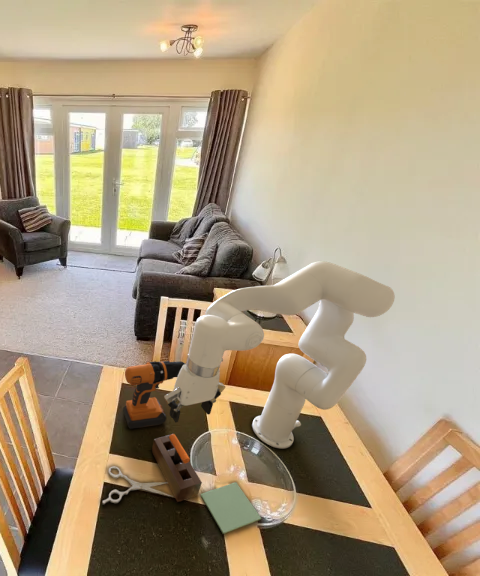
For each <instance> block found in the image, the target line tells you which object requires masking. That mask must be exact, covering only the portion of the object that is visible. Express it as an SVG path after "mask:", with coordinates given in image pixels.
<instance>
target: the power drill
mask: <svg viewBox="0 0 480 576" xmlns="http://www.w3.org/2000/svg"><path fill="white" fill-rule="evenodd" d="M184 364H186V362H184V361H170V360H165V361H156V360H155V361H154V360H153V361H147V362H145V364H139V365H129V366H127V367H126V368H125V370H124V378H125V380H126V383H127V384H129V385H130V386H132V387H135V386H136V387H135V388H134V391H133V394H132V399H129V400H126V401H125V406H123V409H122V413H123V415H124V419H125V421H126V424H127V427H128V428H129V429H138V428H146V427H147V428H148V427H154V426H160V425H163V423H165V422H166V421H167V415H166V414H165V411H164V409H163V406H162V404H161V402H160V401H159V399H158V398H157V397H155V396H154V397H151V393H152V392H155V391H157V390H158V389H159V388H160V387H159V385H160V384H164V382H165V381H170V380H173V379H174V378H177V377H178V374H179V372H180V370H181V368H182V366H183V365H184Z"/></svg>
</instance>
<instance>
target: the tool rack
mask: <svg viewBox="0 0 480 576" xmlns="http://www.w3.org/2000/svg"><path fill="white" fill-rule="evenodd" d="M172 434H173V433H172ZM172 434H168V435H165V436H161V437H156V438H154V439H153V442H152V446H151V447H152V448H151V453H152V455H153V457H154V459H155V461H156V463H157V465H158V467H159V469H160V471H161V473H162V475H163V477H164V479H165V482H168V483H167V485H168V487H169V489H170V491H171V492H172V496H174V498H175V500H176V503H180V502H182V501H186V500H188V499H191V498H195V497H197V496H199V494H200V491H201V490H200V489H201V487H202V484H203V482H202V480H201V479H200V477H199V475H198V474H197V472H196V471H195V468H194V467H193V465H192V463H191V462H190V461H189V462H188V463H183V461H182V459H181V457H180V461H179V464H176V465H175V464H174V463H173V458H174V453H175V447H174V445H173V444H172V442H171V440H170V439H169V436H170V435H172Z"/></svg>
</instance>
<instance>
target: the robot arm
mask: <svg viewBox="0 0 480 576" xmlns="http://www.w3.org/2000/svg"><path fill="white" fill-rule="evenodd" d="M395 295H396V294H395V292H394V290H393V289H392V287H390V286H388V285H386V284H383V283H381V282H379V281H377V280H375V279H373V278H371V277H369V276H367V275H364V274H362V273H360V272H357V271H354V270H352V269H348V268H346V267H344V266H341V265H339V264H336V263H333V262H330V261H325V260H320V261H319V260H318V261H314V262H311V263H310V264H308V265H306V266H304V267H302V268H301V269H299V270H297V271H296V272H294V273H292V274H291V275H289V276H287V277H285V278H284V279H282V280H280V281H279V282H277V283H275V284H270V285H256V286H248V287H241V288H238V289H235V290H232V291H230V292H228V293H227V294H224V295H223V296H221V297H219V298H218V299H217V300H215V301H214V302H212V303H211V304H210V305H209V306H208V307H207V309H206V311H205V313H204V315H201V316H199V317H198V318H197V319H196V321H195V323H194V327H193V333H192V336H191V340H190V345H189V349H188V353H187V358H186V362H185V364H184V365H183V366H182V368H181V370H180V372H179V374H178V377H176V380H175V383H174V386H173V390H172V391H169V392H168V393H167V394H165V395H164V396H163V398H164V400H165V402H166V404H167V406H168V407H169V408H170V410H169V416H170V418H171V419H172V420H173V422H174V423H178V422H179V419H180V416H181V409H182V408H183V407H184V406H191V405H197V404H200V407H201V409H202V410H203V411H204V413H206V415H207V416H208V415H211V413H212V409H213V406H214V404H215V403H216V402H217V399H218V398H219V397H220V396H221V395H222V393H223V392H224V390H225V389H226V385H225V384H224V383H223V382H220V377H221V373H220V372H221V370H220V368H221V364H222V362H224V355H225V354H224V353H225V352H226V351H239V352H240V351H241V352H242V351H243V352H244V351H250V350H253V349H255V348H257V347H258V346H260V345H261V343H262V342H263V341H264V338H265V331H264V329H263V327H262V326H261V325H260V324H259V323H258V322H257V321H255V320H254V319H252V318H251V317H249V316H247V314H245V313H244V312H245V311H260V312H265V313H271V314H275V315H282V316H296V315H298V314H300V313H301V312H303V311H304V310H307V308H309V307H311V306H313V305H314V304H316V303H318V302H319V304H318V308H317V310H316V312H315V314H314V316H313V317H312V319H311V320H310V322H309V324H308V325H307V326H306V328H305V330H304V331H303V333H302V335H301V336H300V338H299V340H298V342H297V343H298V344H297V346H298V348H299V350H300V351H301V352H302V353H303V354H304V355H306V356H307V357H308V358H310V359H311V360H313V361H314V362H316V363H317V364H319V365H320V366H321V367H323V368H325V369H326V370H327V371H328V372H326V371H325V370H323V369H322V368H320V367H319V366H317V365H316V364H314V363H313V362H312V361H311V360H308V359H307V358H306V357H304V356H302V355H300V354H297V353H292V352H291V353H286V354H284V355H282V356H281V357H280V358H279V360H278V361H277V362H276V366H275V371H274V378H273V379H274V380H273V384H272V386H271V389H270V391H269V394H268V397H267V399H266V401H265V403H264V407H263V408H262V412H261V415H257V416H255V417H254V419H253V421H252V424H251V427H252V430H253V432H254V434H255V435H256V436H257V438H258V439H259V440H260V441H262V443H264V444H266V445H269V446H271V447H273V448H276V449H288V448H290V447H291V446H292V445H293V443H294V440H295V438H294V434H293V430H295V429H296V428H299V427H301V426H302V423H301V421H300V420H298V419H299V416H300V414H301V412H302V410H303V408H304V407H305V404H306V401H308V402H309V403H310V404H311V405H313V406H314V407H316V408H317V409H319V410H324V411H326V410H330V409H332V408H334V407H335V406H336V405H337V404H338V403H339V402H340V401H341V399H342V398H343V397H344V395H345V394H346V393H347V391H348V390H349V389H350V387H351V386H352V385H353V384H354V382H355V381H356V380H357V378H358V377H359V375H360V374H361V373H362V371H363V369H364V367H365V366H366V364H367V354H366V352H365V351H364V349H362V348H361V347H359V345H356V344H355V343H354V342H353V343H352V342H351V341H349V340H347V339H346V338H345V335H346V334H347V332H348V331H349V329H350V328H351V326H352V325H353V323H354V318H355V317H354V316H355V315H354V314H356V315H358V316H359V315H360V316H363V317H366V318H377V317H380V316H382V315H384V314H385V313H387V312H388V311H389V310H390V309H391V308H392V306H393V305H394V302H395V299H396V296H395ZM178 401H179V402H178ZM177 402H178V403H177Z"/></svg>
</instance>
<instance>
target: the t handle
mask: <svg viewBox="0 0 480 576" xmlns="http://www.w3.org/2000/svg"><path fill="white" fill-rule="evenodd" d="M169 435H170V436H169V439H170V440H171V442H172V444H173V445H174V447H175V453H174V458H173V463H174V464H175V465H176V464H179V461H180V457H181V459H182V461H183V463H188V462H190V461H191V458H190V456H189V455H188V453H187V452H186V450H185V449H184V447H183V445H182V443H181V442H180V440H179V438H178V437H177V436H176V434H175V433H172V435H171V434H169Z"/></svg>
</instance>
